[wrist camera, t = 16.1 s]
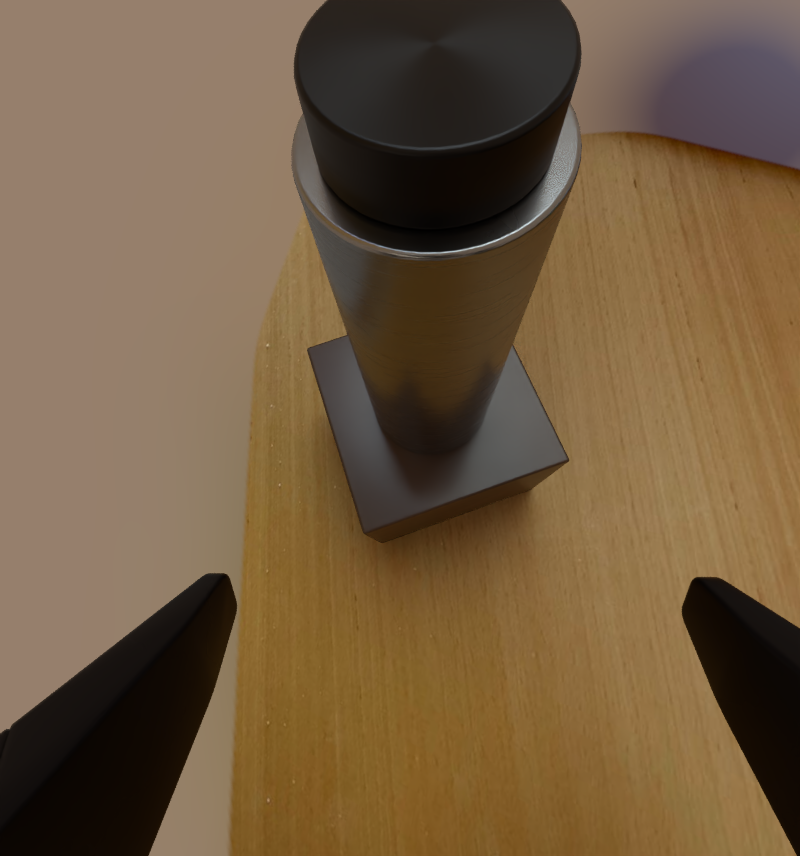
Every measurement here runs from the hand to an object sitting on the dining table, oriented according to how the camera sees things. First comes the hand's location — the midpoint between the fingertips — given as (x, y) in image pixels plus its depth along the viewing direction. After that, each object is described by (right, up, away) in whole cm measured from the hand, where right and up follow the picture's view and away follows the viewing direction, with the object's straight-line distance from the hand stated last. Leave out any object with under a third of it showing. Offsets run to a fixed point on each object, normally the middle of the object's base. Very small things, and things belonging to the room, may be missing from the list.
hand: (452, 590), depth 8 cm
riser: (0, +2, +14) cm, 14 cm away
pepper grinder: (0, +4, +8) cm, 9 cm away
